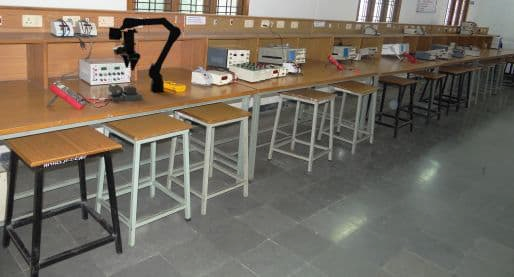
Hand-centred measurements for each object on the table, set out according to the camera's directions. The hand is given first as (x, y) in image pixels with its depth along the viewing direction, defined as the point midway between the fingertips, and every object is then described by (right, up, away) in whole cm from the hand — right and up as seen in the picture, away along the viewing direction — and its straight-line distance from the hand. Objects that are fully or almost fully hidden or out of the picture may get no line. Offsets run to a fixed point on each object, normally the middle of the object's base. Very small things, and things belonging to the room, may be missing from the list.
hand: (129, 69), depth 235 cm
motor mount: (+2, -18, -15) cm, 23 cm away
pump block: (+4, -18, -13) cm, 22 cm away
